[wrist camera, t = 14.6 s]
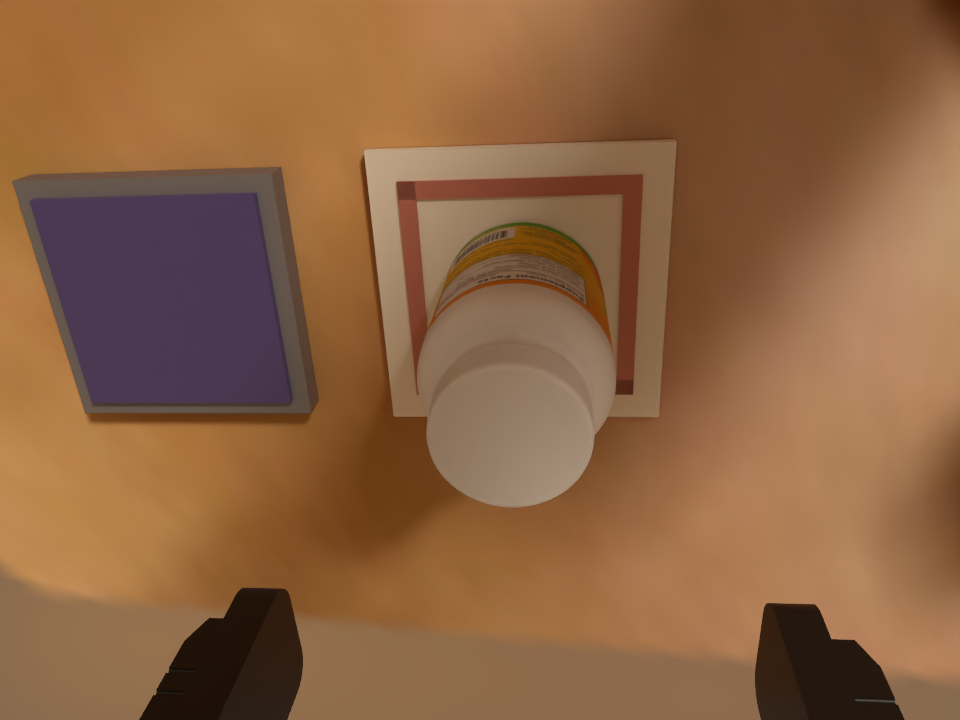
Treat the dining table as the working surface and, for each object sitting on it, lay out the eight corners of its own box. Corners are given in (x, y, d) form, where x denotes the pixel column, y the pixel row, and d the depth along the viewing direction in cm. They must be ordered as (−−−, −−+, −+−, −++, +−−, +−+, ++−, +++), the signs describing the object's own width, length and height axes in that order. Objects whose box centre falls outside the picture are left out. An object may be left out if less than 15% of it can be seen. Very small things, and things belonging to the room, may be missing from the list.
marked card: (675, 139, 24) (677, 142, 24) (657, 411, 29) (659, 418, 28) (366, 149, 25) (363, 151, 25) (395, 411, 30) (393, 418, 29)
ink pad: (281, 167, 26) (268, 175, 25) (318, 400, 30) (308, 417, 28) (30, 174, 27) (6, 183, 25) (99, 400, 30) (81, 417, 29)
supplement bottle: (570, 379, 28) (579, 557, 19) (429, 335, 28) (373, 497, 19) (625, 243, 25) (663, 378, 17) (471, 194, 25) (428, 305, 16)
